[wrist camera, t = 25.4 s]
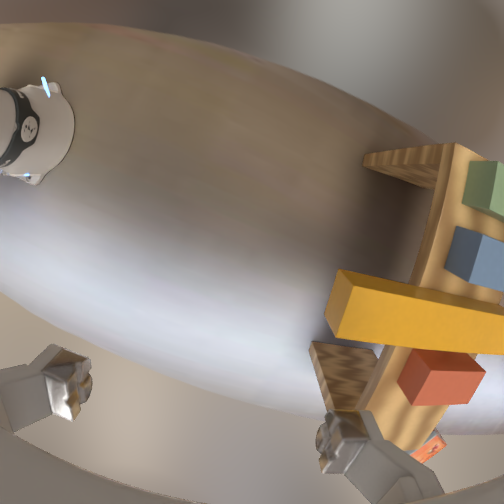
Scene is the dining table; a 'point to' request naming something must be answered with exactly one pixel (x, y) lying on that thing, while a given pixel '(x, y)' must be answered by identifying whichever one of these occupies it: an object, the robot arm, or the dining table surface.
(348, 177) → the dining table surface
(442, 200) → the shelf
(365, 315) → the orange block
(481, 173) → the block
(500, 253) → the block
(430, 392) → the block
